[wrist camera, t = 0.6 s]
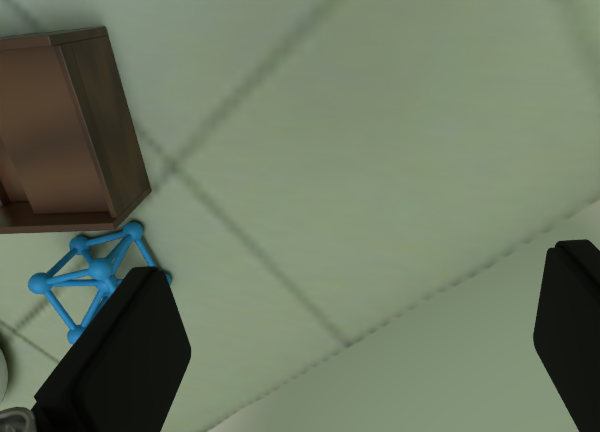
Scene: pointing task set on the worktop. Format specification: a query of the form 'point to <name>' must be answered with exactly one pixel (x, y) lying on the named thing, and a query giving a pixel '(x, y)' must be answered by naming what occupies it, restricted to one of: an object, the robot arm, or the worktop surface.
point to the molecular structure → (97, 270)
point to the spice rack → (65, 135)
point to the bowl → (3, 376)
